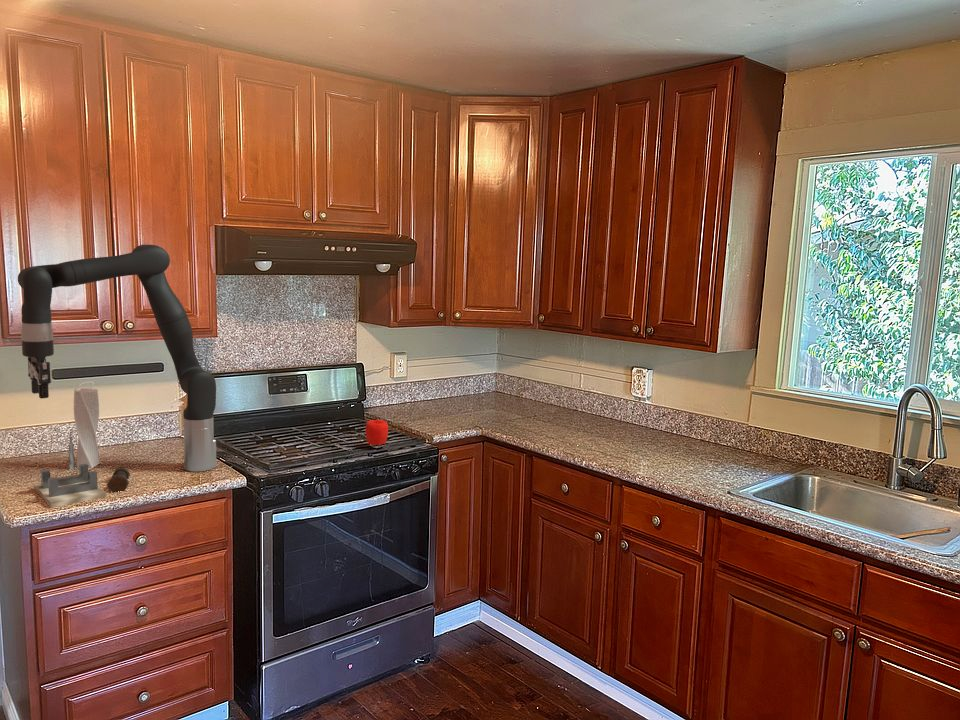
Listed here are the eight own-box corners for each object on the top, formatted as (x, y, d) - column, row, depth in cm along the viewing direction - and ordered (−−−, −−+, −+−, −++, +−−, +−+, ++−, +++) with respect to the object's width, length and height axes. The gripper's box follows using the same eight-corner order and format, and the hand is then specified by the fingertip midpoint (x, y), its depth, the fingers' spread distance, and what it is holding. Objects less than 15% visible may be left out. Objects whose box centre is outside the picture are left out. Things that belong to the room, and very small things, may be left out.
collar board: (86, 479, 217) (86, 475, 217) (106, 497, 203) (106, 492, 203) (34, 488, 208) (33, 483, 207) (50, 507, 193) (50, 502, 193)
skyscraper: (81, 463, 235) (78, 380, 231) (106, 463, 235) (103, 381, 231) (67, 470, 226) (64, 385, 222) (93, 471, 227) (90, 386, 223)
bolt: (125, 483, 222) (121, 496, 208) (109, 476, 220) (104, 489, 206) (135, 466, 222) (131, 479, 209) (119, 459, 220) (114, 472, 207)
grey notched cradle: (87, 479, 213) (86, 463, 212) (97, 489, 205) (97, 472, 204) (41, 486, 205) (40, 470, 204) (50, 497, 197) (49, 480, 196)
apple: (369, 443, 273) (370, 416, 272) (391, 446, 272) (391, 418, 270) (361, 449, 265) (362, 421, 263) (383, 451, 263) (384, 423, 262)
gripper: (59, 341, 194) (61, 398, 197) (46, 335, 204) (48, 390, 207) (27, 342, 189) (30, 401, 191) (16, 336, 199) (19, 392, 202)
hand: (40, 395), depth 199 cm, fingers open, 8 cm apart
